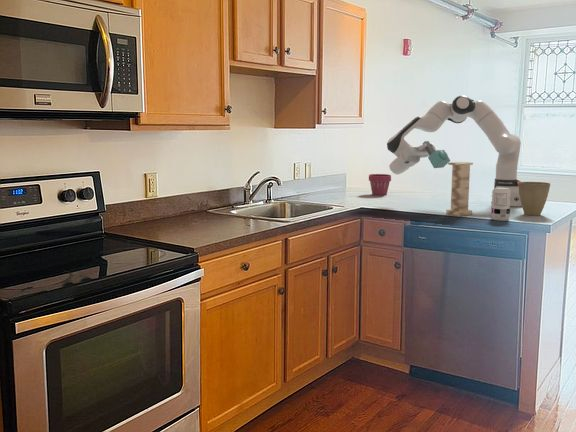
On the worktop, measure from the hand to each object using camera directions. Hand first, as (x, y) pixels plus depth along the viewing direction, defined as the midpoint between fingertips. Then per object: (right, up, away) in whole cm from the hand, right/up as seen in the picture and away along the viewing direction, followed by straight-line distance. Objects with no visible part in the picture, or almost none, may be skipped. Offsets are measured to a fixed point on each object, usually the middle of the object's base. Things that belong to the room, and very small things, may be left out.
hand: (429, 144), depth 307 cm
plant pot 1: (-16, -24, +66) cm, 72 cm away
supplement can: (+27, -39, -27) cm, 55 cm away
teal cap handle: (+1, -6, -1) cm, 6 cm away
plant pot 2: (+48, -37, -14) cm, 62 cm away
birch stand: (+12, -37, -11) cm, 40 cm away
